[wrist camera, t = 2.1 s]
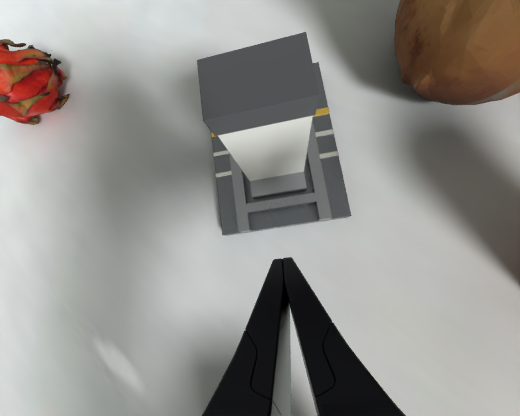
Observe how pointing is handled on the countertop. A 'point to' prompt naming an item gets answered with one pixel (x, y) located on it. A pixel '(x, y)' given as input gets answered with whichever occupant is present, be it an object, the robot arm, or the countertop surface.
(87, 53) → the countertop surface
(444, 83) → the butternut squash
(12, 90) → the dragon fruit
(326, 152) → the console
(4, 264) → the countertop surface
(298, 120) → the plate
